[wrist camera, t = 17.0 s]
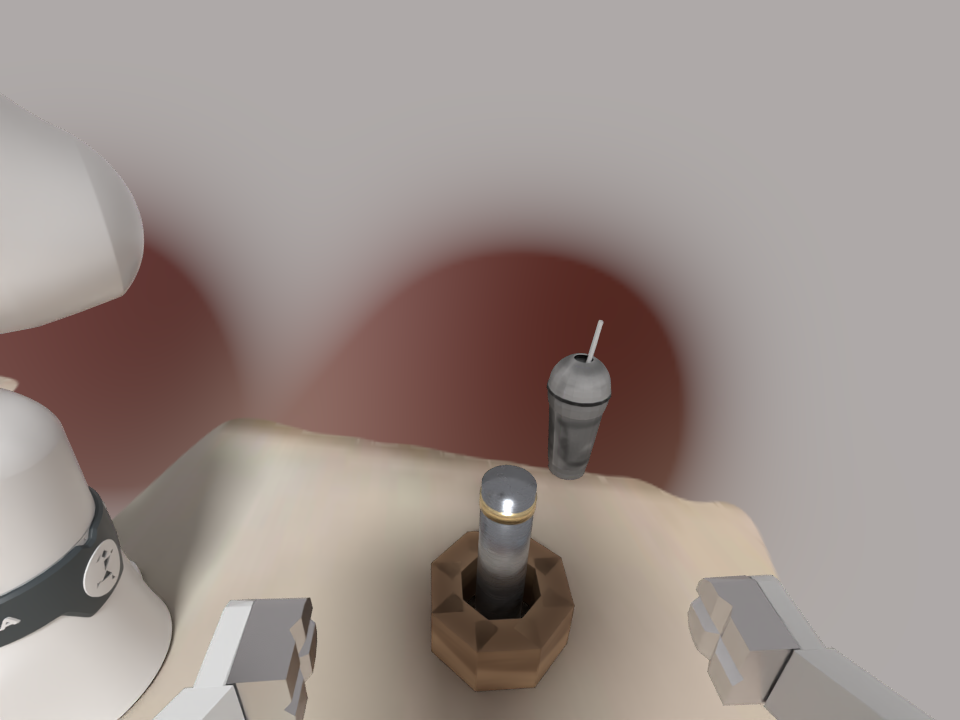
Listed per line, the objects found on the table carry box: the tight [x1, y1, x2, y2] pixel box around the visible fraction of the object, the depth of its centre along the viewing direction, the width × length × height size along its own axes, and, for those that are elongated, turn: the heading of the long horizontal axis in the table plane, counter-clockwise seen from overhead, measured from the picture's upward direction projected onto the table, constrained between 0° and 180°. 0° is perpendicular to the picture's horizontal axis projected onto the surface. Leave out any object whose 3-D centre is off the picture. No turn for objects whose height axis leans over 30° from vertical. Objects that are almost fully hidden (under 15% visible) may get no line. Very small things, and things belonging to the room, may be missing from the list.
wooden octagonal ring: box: [431, 531, 575, 692], centre depth 44 cm, size 12×12×5 cm
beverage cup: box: [547, 320, 611, 480], centre depth 58 cm, size 7×7×20 cm
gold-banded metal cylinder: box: [475, 465, 537, 620], centre depth 41 cm, size 4×4×16 cm
